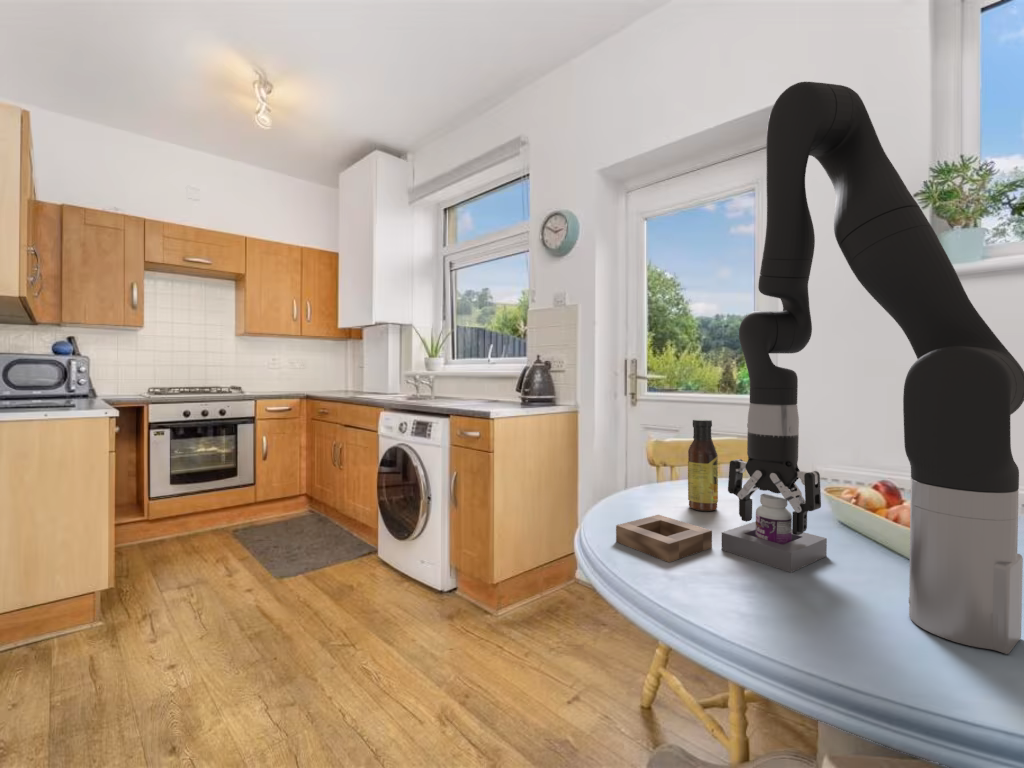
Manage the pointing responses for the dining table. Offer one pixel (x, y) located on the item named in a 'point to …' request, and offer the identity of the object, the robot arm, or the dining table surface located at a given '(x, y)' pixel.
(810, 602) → the dining table surface
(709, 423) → the sauce bottle
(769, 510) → the pill bottle
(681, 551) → the dock
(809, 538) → the grey square frame
